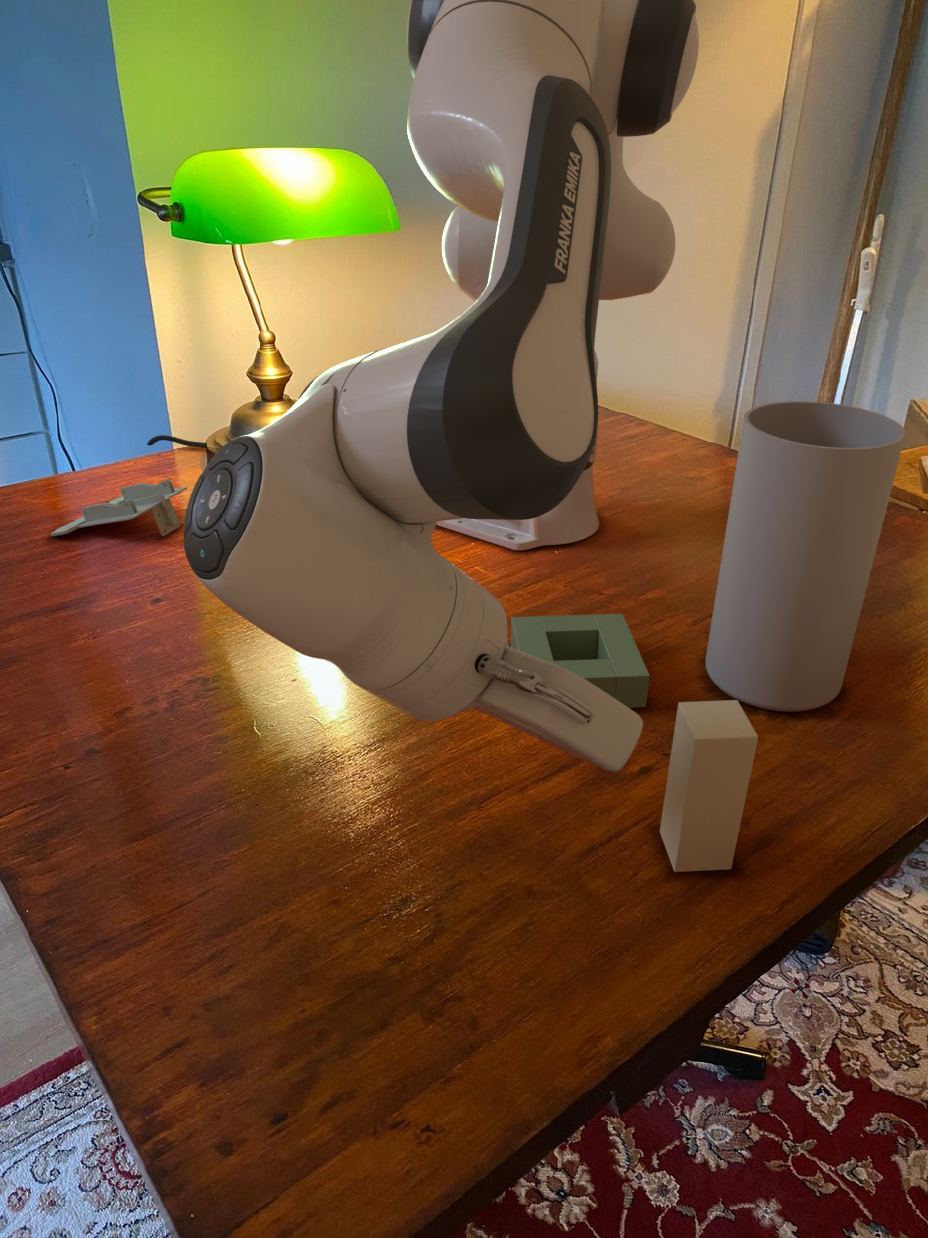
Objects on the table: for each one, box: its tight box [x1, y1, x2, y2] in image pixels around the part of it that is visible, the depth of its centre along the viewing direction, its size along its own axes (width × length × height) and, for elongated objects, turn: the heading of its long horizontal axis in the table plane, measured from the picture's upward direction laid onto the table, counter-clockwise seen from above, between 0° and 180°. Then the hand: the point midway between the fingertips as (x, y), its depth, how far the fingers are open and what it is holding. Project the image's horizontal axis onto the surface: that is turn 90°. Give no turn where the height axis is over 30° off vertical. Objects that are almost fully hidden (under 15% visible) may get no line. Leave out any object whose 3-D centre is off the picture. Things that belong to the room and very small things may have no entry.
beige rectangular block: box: [659, 699, 759, 873], centre depth 64 cm, size 4×4×12 cm
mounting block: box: [509, 613, 650, 709], centre depth 86 cm, size 11×11×4 cm
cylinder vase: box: [704, 400, 906, 713], centre depth 81 cm, size 12×12×25 cm
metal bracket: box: [50, 478, 188, 537], centre depth 117 cm, size 14×6×15 cm
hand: (567, 730), depth 62 cm, fingers open, 8 cm apart
